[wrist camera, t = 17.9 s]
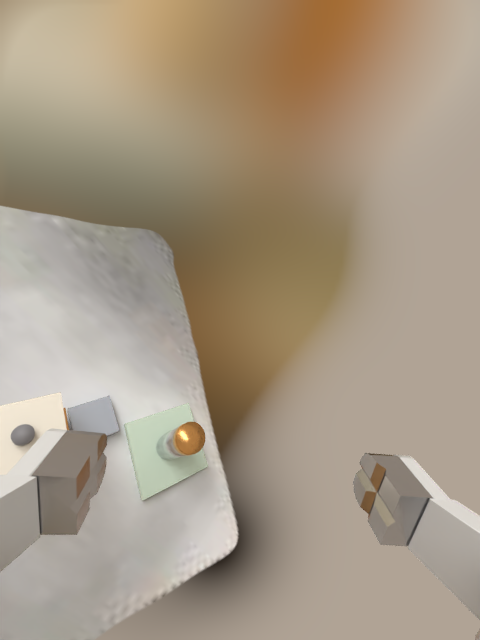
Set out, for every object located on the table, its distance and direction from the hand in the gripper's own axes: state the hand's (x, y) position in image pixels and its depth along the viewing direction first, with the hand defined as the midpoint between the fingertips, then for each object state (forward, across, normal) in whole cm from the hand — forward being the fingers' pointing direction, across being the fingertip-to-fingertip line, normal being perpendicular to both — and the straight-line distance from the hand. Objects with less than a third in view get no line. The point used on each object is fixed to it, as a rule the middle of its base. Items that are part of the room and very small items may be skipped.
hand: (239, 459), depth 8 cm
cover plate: (+33, -18, -26) cm, 45 cm away
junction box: (+27, -25, -26) cm, 45 cm away
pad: (+34, -6, -30) cm, 46 cm away
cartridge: (+33, -5, -30) cm, 45 cm away
